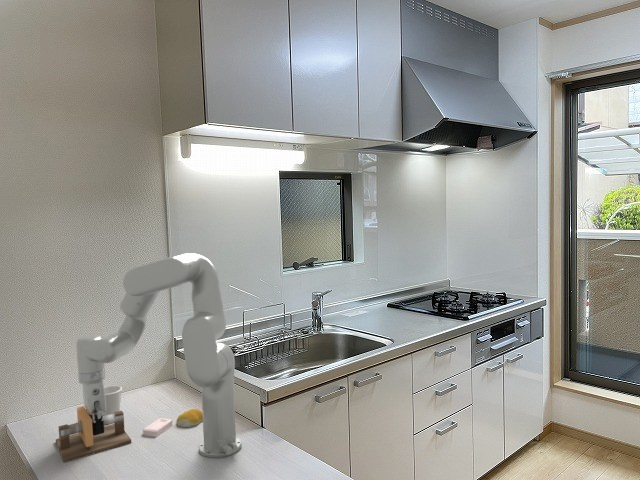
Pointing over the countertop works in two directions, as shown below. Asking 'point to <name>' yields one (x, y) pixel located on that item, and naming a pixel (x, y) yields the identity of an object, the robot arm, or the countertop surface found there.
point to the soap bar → (157, 427)
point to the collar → (85, 426)
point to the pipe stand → (109, 439)
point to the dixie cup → (112, 399)
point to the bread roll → (190, 418)
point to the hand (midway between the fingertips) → (95, 428)
